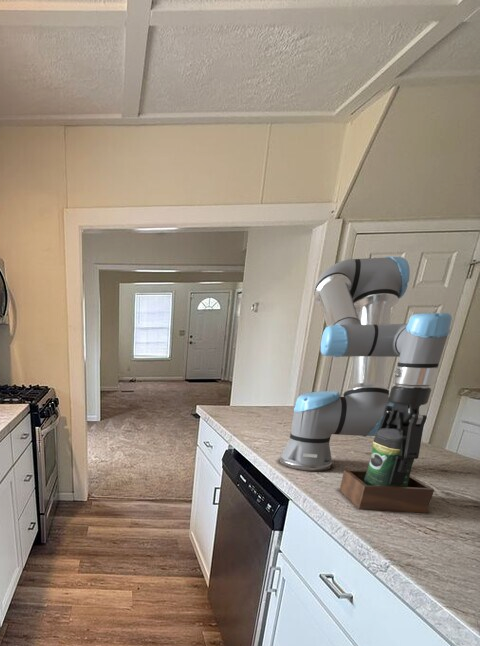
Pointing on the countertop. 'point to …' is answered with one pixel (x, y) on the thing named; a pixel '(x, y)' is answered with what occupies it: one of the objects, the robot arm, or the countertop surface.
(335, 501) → the countertop surface
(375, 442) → the coffee jar
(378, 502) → the holder
